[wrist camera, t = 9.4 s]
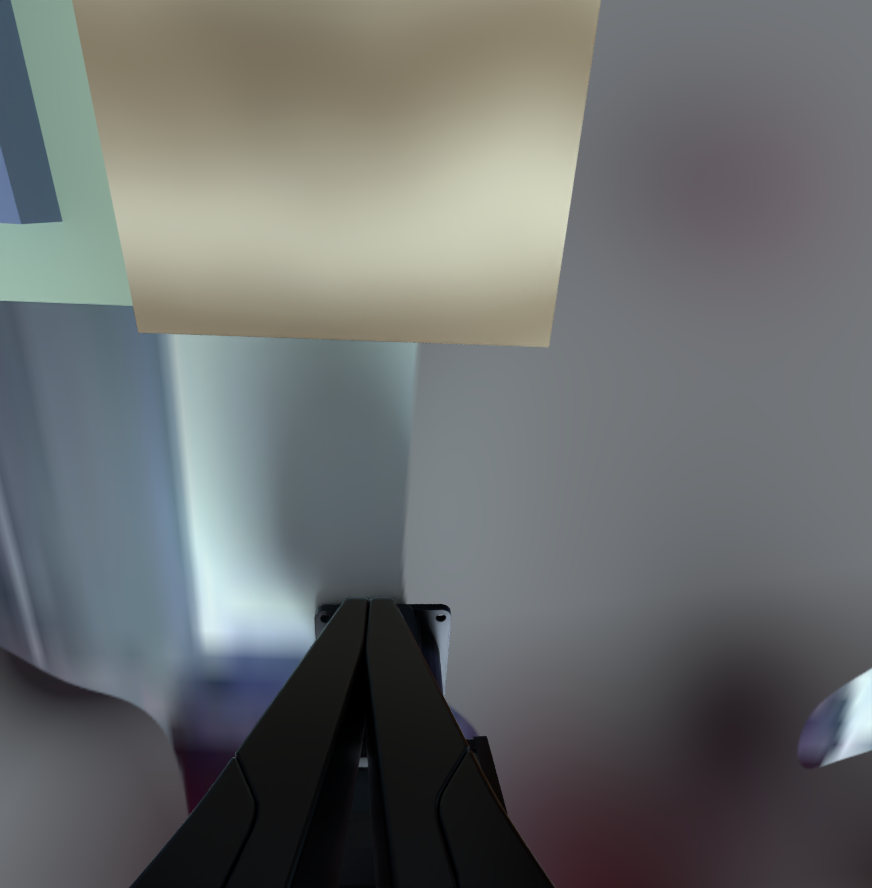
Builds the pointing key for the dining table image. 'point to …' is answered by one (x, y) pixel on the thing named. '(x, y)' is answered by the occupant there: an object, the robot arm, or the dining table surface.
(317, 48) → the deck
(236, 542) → the dining table surface
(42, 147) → the periwinkle blue block
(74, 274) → the mat
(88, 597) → the dining table surface
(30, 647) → the dining table surface
